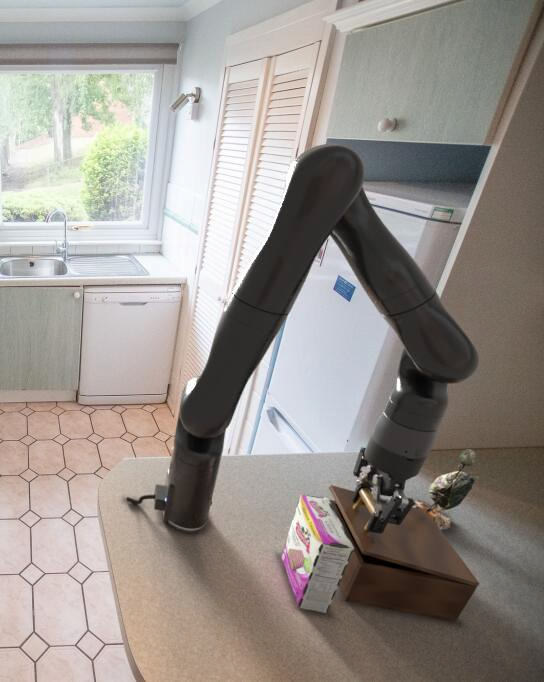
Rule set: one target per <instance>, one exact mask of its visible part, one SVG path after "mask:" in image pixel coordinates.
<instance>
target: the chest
mask: <svg viewBox="0 0 544 682" xmlns="http://www.w3.org/2000/svg"><path fill="white" fill-rule="evenodd" d="M329 500H330V502H331V504H332V506H333V508H334V510H335V512H336V514H337V516H338V518H339V520H340V522H341V524H342V526H343V527H344V529H345V531H346V533H347V535H348V537H349V539H350V541H351V543H352V545H353V547H354V550H353V552H352V554H351V557H350V559H349V561H348V564H347V566H346V569H345V571H344V573H343V576H342V578H341V581H340V583H339V586H338V588H339V589H340V591H341V594H342V596H343V598H344V602H348V603H354V604H359V605H364V606H369V607H375V608H379V609H385V610H390V611H394V612H401V613H405V614H410V615H415V616H420V617H426V618H430V619H437V620H441V621H446V622H452V623H456V622H457V620H458V619H459V617H460V615H461V614H462V613H463V611H464V609H465V607H466V606H467V604H468V603H469V601H470V599H471V598H472V596H473V595H474V594H475V592H476V590H477V588H478V586H477V587H476V586H472V585H469V584H466V583H462V582H459V581H455V580H452V579H448V578H445V577H441V576H438V575H434V574H431V573H427V572H424V571H421V570H417V569H414V568H410V567H407V566H403V565H400V564H396V563H393V562H389V561H386V560H382V559H379V558H376V557H372V556H369V555H365V554H362V552H361V550H360V548H359V546H358V544H357V542H356V540H355V538H354V536H353V534H352V533H351V531H350V529H349V527H348V525H347V523H346V521H345V519H344V517H343V515H342V513H341V511H340V509H339V507H338V505H337V503H336V501H335V499H334V500H333V499H329Z"/></svg>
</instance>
